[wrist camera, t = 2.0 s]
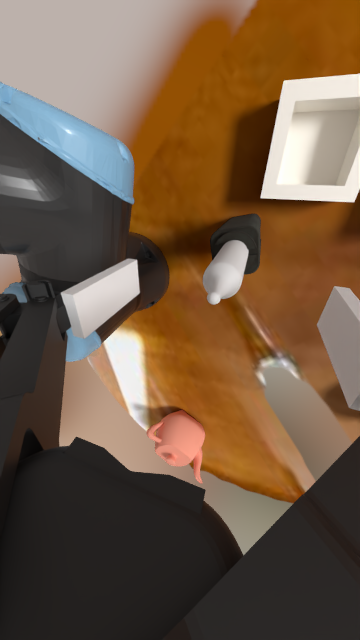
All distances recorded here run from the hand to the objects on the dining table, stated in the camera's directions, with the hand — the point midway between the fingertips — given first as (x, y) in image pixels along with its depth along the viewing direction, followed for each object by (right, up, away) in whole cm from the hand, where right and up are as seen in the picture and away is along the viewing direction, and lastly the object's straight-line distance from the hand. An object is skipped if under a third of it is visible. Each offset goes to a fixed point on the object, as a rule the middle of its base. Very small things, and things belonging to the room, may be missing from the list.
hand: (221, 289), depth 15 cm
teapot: (-1, -33, +50) cm, 60 cm away
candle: (+7, +12, +19) cm, 23 cm away
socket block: (+14, +19, +12) cm, 26 cm away
